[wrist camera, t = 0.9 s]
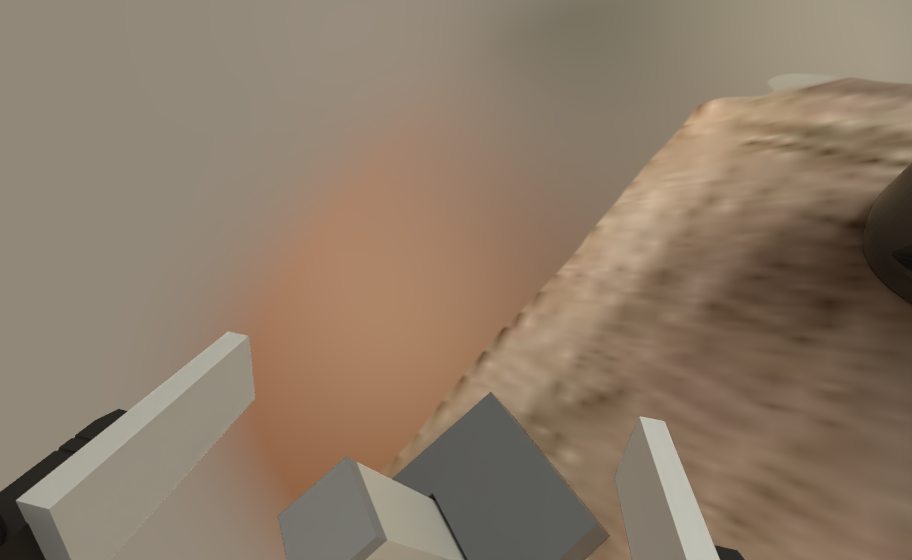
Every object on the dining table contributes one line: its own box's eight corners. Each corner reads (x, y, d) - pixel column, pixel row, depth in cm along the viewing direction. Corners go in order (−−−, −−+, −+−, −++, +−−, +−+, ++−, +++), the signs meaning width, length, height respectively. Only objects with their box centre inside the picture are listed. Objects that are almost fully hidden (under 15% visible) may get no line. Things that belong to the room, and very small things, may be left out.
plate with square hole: (509, 412, 38) (490, 391, 35) (609, 535, 29) (596, 523, 26) (317, 583, 36) (279, 578, 33) (363, 769, 27) (318, 785, 24)
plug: (451, 508, 34) (346, 456, 24) (484, 569, 30) (376, 536, 21) (403, 551, 34) (277, 515, 24) (431, 618, 30) (296, 608, 20)
